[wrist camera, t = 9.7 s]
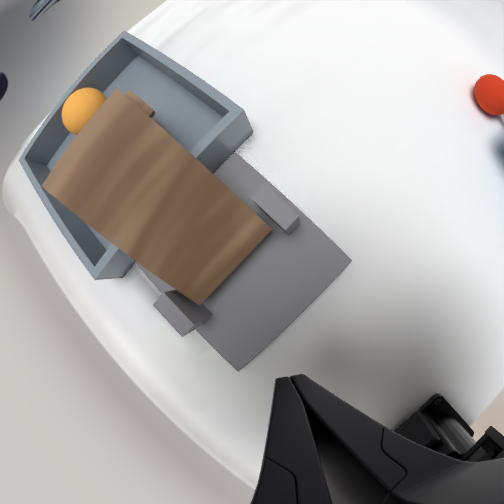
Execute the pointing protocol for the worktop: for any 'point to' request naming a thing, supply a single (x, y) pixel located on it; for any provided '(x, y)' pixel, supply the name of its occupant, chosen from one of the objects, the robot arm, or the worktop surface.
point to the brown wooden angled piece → (154, 198)
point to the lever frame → (257, 275)
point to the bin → (166, 115)
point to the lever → (490, 94)
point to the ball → (81, 108)
